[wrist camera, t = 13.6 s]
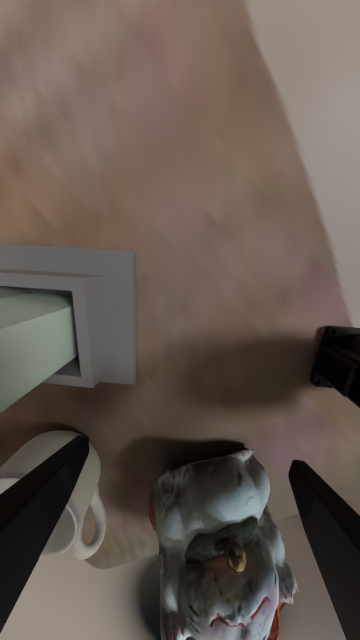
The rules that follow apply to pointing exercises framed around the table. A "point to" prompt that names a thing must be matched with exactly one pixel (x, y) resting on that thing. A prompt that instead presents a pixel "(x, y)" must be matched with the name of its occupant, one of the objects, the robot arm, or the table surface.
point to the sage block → (34, 341)
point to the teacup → (82, 496)
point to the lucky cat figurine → (219, 551)
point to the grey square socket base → (83, 305)
